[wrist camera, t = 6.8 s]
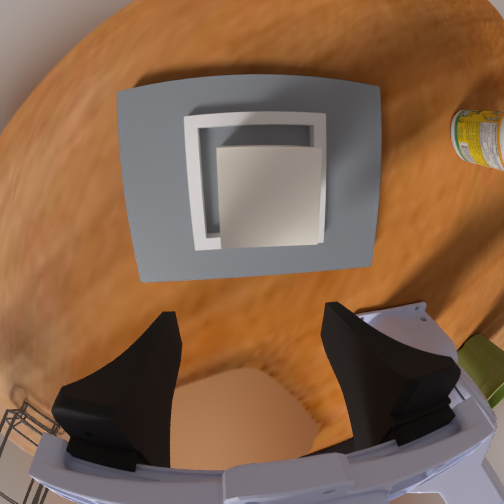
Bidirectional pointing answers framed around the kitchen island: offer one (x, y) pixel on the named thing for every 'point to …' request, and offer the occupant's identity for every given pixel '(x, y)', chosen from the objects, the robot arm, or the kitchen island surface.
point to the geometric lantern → (28, 440)
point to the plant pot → (484, 367)
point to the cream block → (268, 195)
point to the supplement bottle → (479, 137)
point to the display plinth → (245, 133)
